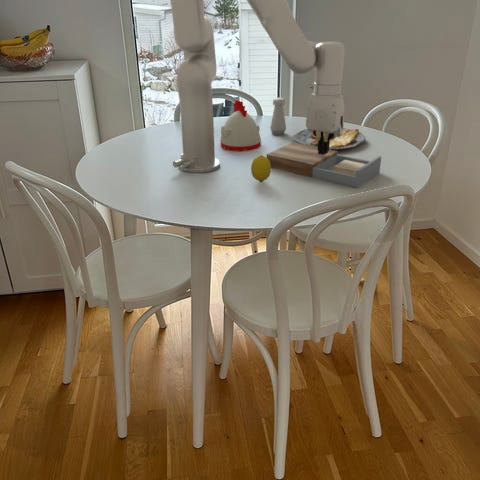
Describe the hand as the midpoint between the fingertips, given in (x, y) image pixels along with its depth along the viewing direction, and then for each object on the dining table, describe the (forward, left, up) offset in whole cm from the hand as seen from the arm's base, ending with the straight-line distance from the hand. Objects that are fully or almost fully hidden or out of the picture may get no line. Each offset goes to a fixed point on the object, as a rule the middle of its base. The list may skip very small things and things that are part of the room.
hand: (322, 153), depth 147 cm
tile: (0, -9, -2) cm, 9 cm away
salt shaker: (+25, +32, -5) cm, 41 cm away
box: (0, -8, -5) cm, 9 cm away
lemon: (-19, +9, -5) cm, 22 cm away
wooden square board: (0, +7, -5) cm, 9 cm away
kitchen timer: (+6, +35, -5) cm, 36 cm away
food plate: (+27, +12, -6) cm, 30 cm away
